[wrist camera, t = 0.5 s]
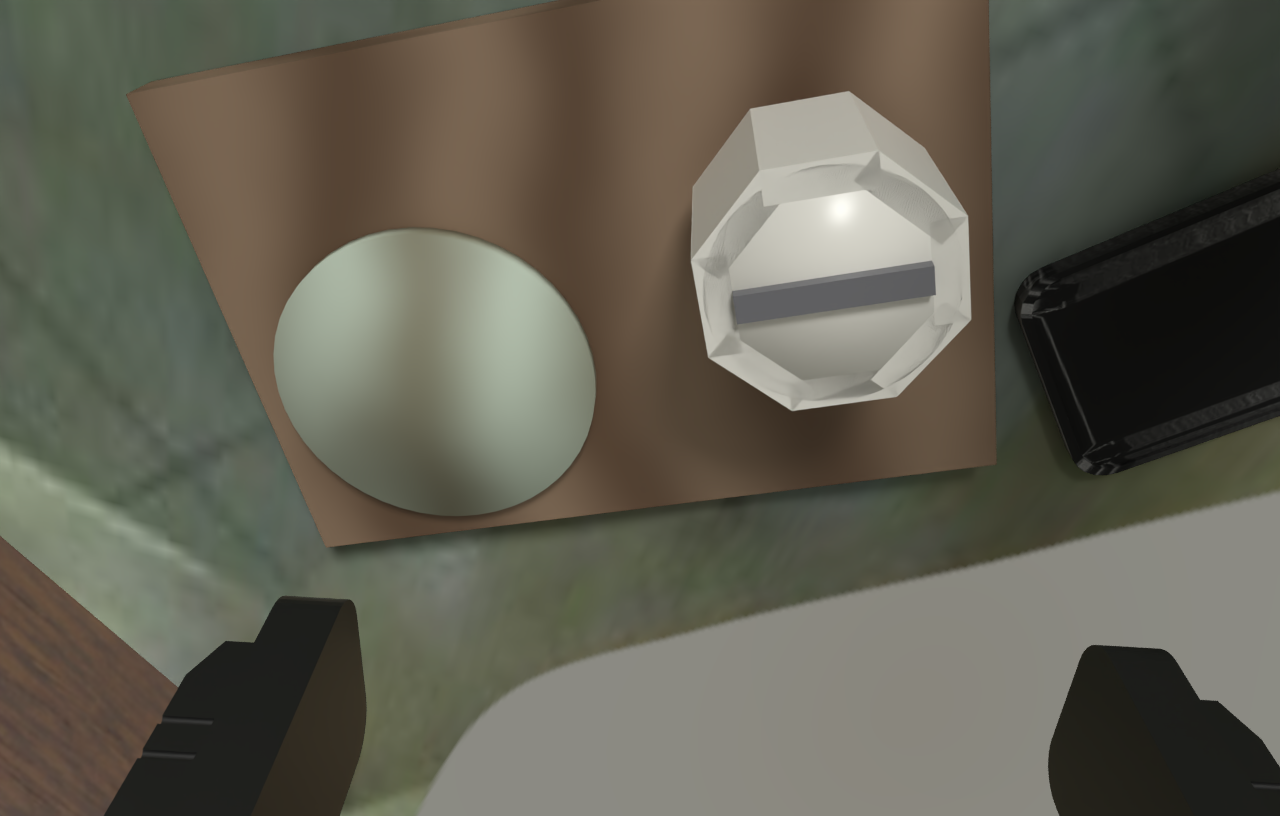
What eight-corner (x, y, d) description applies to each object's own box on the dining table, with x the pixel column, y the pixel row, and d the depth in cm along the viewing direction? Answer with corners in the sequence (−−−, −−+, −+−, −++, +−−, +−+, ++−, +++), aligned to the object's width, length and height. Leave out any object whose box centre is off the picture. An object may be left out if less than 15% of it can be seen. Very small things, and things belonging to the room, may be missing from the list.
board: (973, -83, 26) (1055, -47, 20) (985, 439, 34) (1046, 576, 28) (151, 81, 29) (8, 154, 23) (339, 521, 37) (269, 660, 31)
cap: (920, 78, 25) (969, 139, 20) (932, 297, 28) (976, 393, 23) (681, 121, 26) (676, 189, 21) (717, 328, 29) (719, 427, 24)
